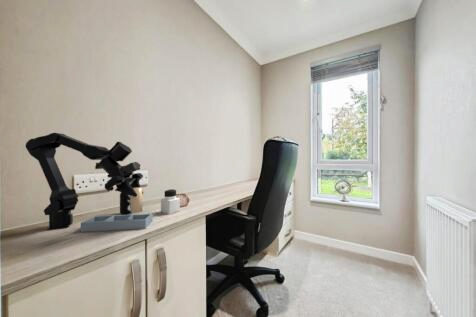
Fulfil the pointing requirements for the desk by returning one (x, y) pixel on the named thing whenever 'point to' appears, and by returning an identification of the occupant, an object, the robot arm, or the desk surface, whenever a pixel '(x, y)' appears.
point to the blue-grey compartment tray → (117, 222)
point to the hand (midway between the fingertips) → (139, 194)
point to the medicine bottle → (170, 202)
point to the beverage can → (125, 204)
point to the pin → (136, 201)
